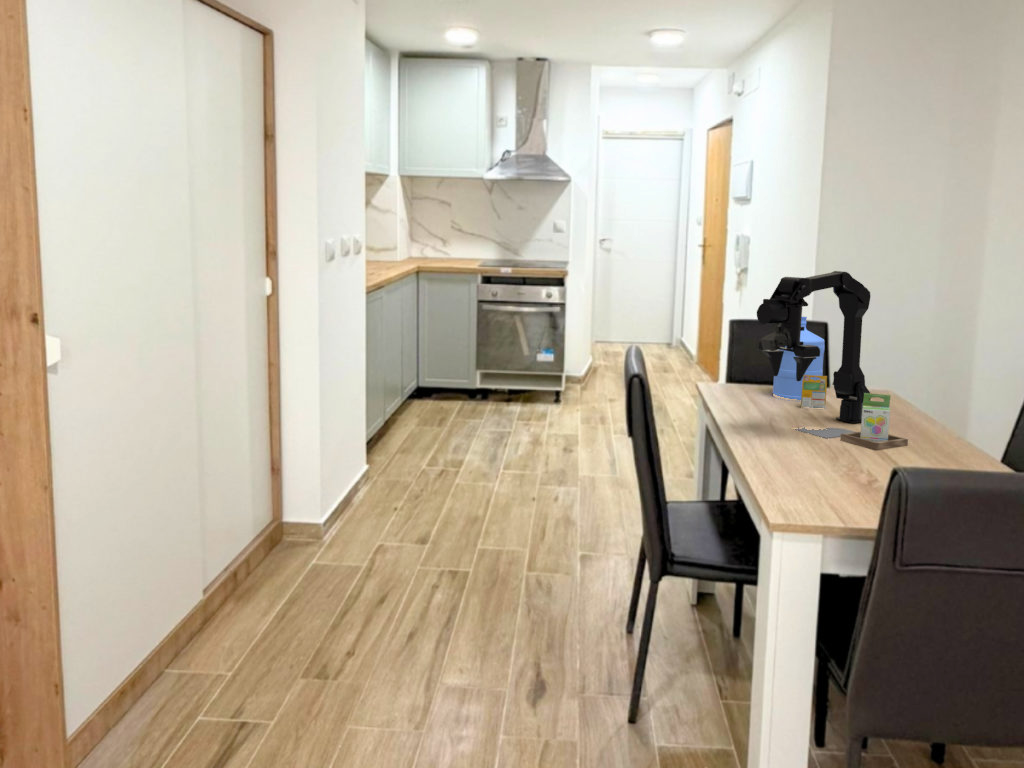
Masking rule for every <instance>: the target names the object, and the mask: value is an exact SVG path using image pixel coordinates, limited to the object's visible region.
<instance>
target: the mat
mask: <svg viewBox="0 0 1024 768" xmlns="http://www.w3.org/2000/svg"><path fill="white" fill-rule="evenodd" d="M826 429H827V430H826ZM826 429H823V430H821V429H819V430H814V429H812V430H807V429H805V427H804V428H802V429H799V428H798V429H795V430H794V431H797V430H798V431H797V432H800V431H801V432H800V433H805V434H807V433H809V434H808V435H811V434H812V435H811V436H814V435H815V437H818V436H819V437H818V438H821V437H822V438H821V439H827V440H828V438H829V439H835V438H836V439H837V438H840V437H841V434H846V433H854V432H856V431H854V430H850V429H846V428H839V427H830V428H826Z"/></svg>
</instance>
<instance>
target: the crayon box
mask: <svg viewBox="0 0 1024 768" xmlns="http://www.w3.org/2000/svg"><path fill="white" fill-rule="evenodd" d="M810 377H817V378H820V380H814V379H810ZM827 387H828V375H822V376H815V375H803V380H802V396H801V401H800V408H801V407H809V408H824V409H825V410H826V401H827Z"/></svg>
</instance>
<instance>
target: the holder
mask: <svg viewBox="0 0 1024 768" xmlns="http://www.w3.org/2000/svg"><path fill="white" fill-rule="evenodd" d="M860 435H861V431H855V432H854V433H846V434H841V437H839V439H840V441H841V442H845V443H848V444H850V445H851V444H852V445H856V446H858V447H863V448H866V449H869V450H873V451H882V450H888V449H894V448H900V447H901V448H902V447H906V446H908V445H909V443H908V442H909V439H908V438H905V437H902V436H901V437H900V436H897V435H892V434H889V433H888V441H882V442H873V441H870V440H866V439H862V438H860Z"/></svg>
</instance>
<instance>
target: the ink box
mask: <svg viewBox="0 0 1024 768" xmlns="http://www.w3.org/2000/svg"><path fill="white" fill-rule="evenodd" d="M870 398H871V399H874V398H879V399H881V400H883V401H877V400H871V399H870ZM869 399H870V400H869ZM890 403H891V394H882V393H880V394H879V393H871V392H870V393H864V399H863V409H862V422H860V423H861V424H860V432H861V435H860V438H862V439H866V440H870V441H873V442H882V441H888V434H889V430H890V419H891V418H890V416H891V408H890Z"/></svg>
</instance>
